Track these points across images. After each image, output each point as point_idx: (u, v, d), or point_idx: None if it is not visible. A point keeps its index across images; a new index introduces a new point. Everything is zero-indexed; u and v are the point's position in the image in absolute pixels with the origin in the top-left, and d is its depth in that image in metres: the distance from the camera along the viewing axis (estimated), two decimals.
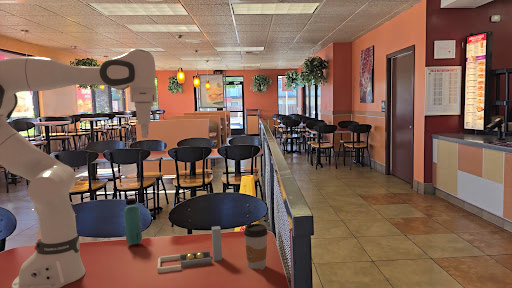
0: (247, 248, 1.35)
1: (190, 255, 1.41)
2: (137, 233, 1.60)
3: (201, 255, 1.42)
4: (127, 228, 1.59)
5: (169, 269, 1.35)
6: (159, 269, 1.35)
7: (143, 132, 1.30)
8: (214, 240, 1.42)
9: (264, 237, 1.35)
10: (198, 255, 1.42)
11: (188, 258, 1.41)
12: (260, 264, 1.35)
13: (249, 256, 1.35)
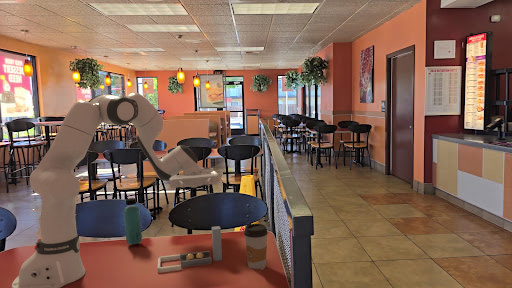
0: (247, 248, 1.35)
1: (190, 255, 1.41)
2: (137, 233, 1.60)
3: (201, 255, 1.42)
4: (127, 228, 1.59)
5: (169, 269, 1.35)
6: (159, 269, 1.35)
7: (209, 181, 1.56)
8: (214, 240, 1.42)
9: (264, 237, 1.35)
10: (198, 255, 1.42)
11: (188, 258, 1.41)
12: (260, 264, 1.35)
13: (249, 256, 1.35)
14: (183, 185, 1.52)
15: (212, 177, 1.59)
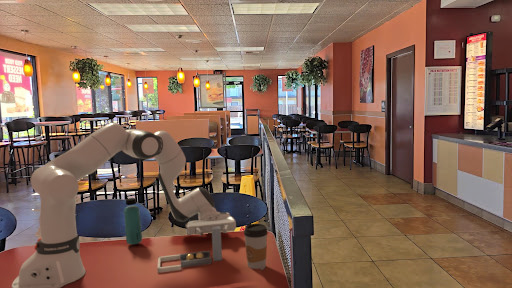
0: (247, 248, 1.35)
1: (190, 255, 1.41)
2: (137, 233, 1.60)
3: (201, 255, 1.42)
4: (127, 228, 1.59)
5: (169, 269, 1.35)
6: (159, 269, 1.35)
7: (226, 228, 1.57)
8: (214, 240, 1.42)
9: (264, 237, 1.35)
10: (198, 255, 1.42)
11: (188, 258, 1.41)
12: (260, 264, 1.35)
13: (249, 256, 1.35)
14: (201, 233, 1.53)
15: (229, 224, 1.60)
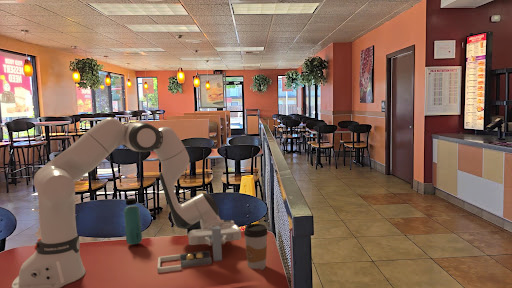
0: (247, 248, 1.35)
1: (190, 255, 1.41)
2: (137, 233, 1.60)
3: (201, 255, 1.42)
4: (127, 228, 1.59)
5: (169, 269, 1.35)
6: (159, 269, 1.35)
7: (224, 239, 1.45)
8: (214, 240, 1.42)
9: (264, 237, 1.35)
10: (198, 255, 1.42)
11: (188, 258, 1.41)
12: (260, 264, 1.35)
13: (249, 256, 1.35)
14: (211, 243, 1.42)
15: (234, 233, 1.49)
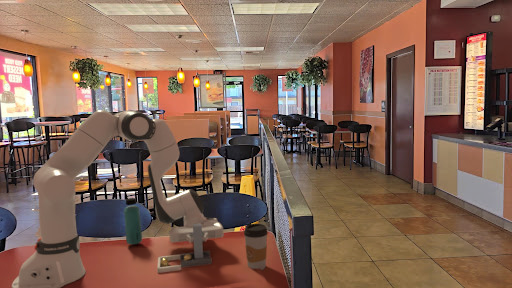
0: (247, 248, 1.35)
1: (165, 260, 1.40)
2: (137, 233, 1.60)
3: None
4: (127, 228, 1.59)
5: (169, 269, 1.35)
6: (159, 269, 1.35)
7: (206, 236, 1.43)
8: (195, 238, 1.40)
9: (264, 237, 1.35)
10: None
11: (163, 263, 1.39)
12: (260, 264, 1.35)
13: (249, 256, 1.35)
14: (191, 240, 1.40)
15: (216, 231, 1.47)
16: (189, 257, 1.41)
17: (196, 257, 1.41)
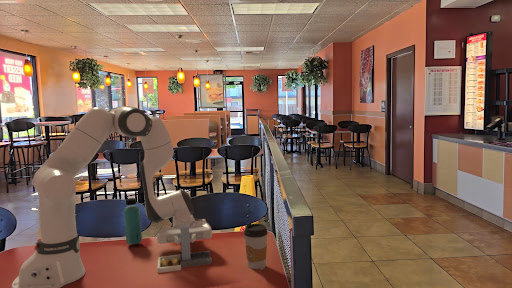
0: (247, 248, 1.35)
1: (164, 260, 1.40)
2: (137, 233, 1.60)
3: (178, 261, 1.40)
4: (127, 228, 1.59)
5: (169, 269, 1.35)
6: (159, 269, 1.35)
7: (193, 237, 1.42)
8: (182, 239, 1.39)
9: (264, 237, 1.35)
10: (176, 259, 1.40)
11: (162, 263, 1.39)
12: (260, 264, 1.35)
13: (249, 256, 1.35)
14: (179, 242, 1.40)
15: (204, 232, 1.46)
16: (174, 264, 1.40)
17: (183, 258, 1.40)
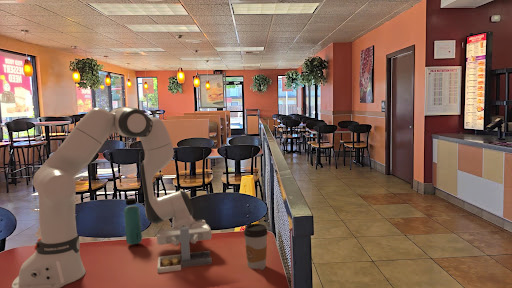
0: (247, 248, 1.35)
1: (168, 260, 1.40)
2: (137, 233, 1.60)
3: (178, 260, 1.41)
4: (127, 228, 1.59)
5: (169, 269, 1.35)
6: (159, 269, 1.35)
7: (195, 238, 1.43)
8: (182, 241, 1.39)
9: (264, 237, 1.34)
10: (176, 258, 1.40)
11: (165, 262, 1.39)
12: (260, 264, 1.35)
13: (249, 256, 1.35)
14: (176, 243, 1.39)
15: (203, 233, 1.46)
16: (173, 264, 1.40)
17: (183, 260, 1.40)
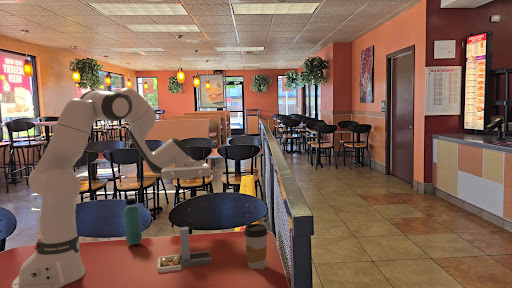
0: (247, 248, 1.35)
1: (164, 259, 1.40)
2: (137, 233, 1.60)
3: (180, 260, 1.41)
4: (127, 228, 1.59)
5: (169, 269, 1.35)
6: (159, 269, 1.35)
7: (200, 172, 1.57)
8: (182, 241, 1.39)
9: (264, 237, 1.35)
10: (178, 258, 1.41)
11: (162, 262, 1.39)
12: (260, 264, 1.35)
13: (249, 256, 1.35)
14: (174, 176, 1.53)
15: (204, 169, 1.60)
16: (175, 262, 1.40)
17: (183, 260, 1.40)
